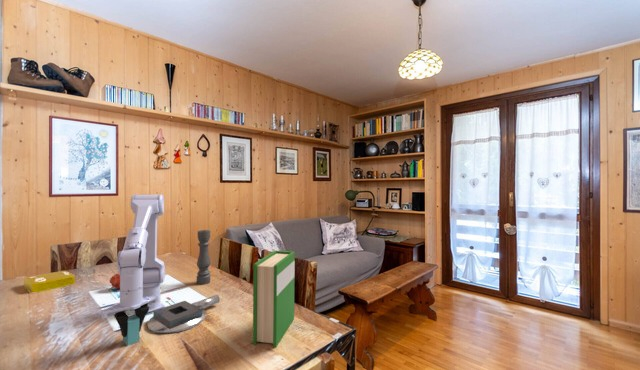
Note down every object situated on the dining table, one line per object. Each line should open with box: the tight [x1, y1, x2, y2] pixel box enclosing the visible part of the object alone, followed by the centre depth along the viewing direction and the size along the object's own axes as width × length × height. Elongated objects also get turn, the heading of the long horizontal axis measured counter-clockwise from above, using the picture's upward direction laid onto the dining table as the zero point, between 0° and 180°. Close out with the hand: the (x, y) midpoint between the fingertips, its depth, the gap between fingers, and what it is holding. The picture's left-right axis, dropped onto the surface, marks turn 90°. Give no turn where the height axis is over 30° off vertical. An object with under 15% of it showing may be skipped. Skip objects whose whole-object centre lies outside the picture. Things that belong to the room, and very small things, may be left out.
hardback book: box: [252, 250, 296, 348], centre depth 91 cm, size 18×7×24 cm, turn 168°
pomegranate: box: [108, 273, 120, 291], centre depth 126 cm, size 7×7×10 cm
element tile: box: [23, 270, 76, 293], centre depth 130 cm, size 15×15×5 cm
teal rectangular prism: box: [122, 314, 140, 347], centre depth 84 cm, size 4×3×7 cm
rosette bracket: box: [147, 294, 221, 335], centre depth 100 cm, size 18×24×4 cm
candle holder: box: [196, 229, 211, 286], centre depth 135 cm, size 6×6×25 cm
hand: (131, 333), depth 84 cm, fingers closed on teal rectangular prism, 3 cm apart
